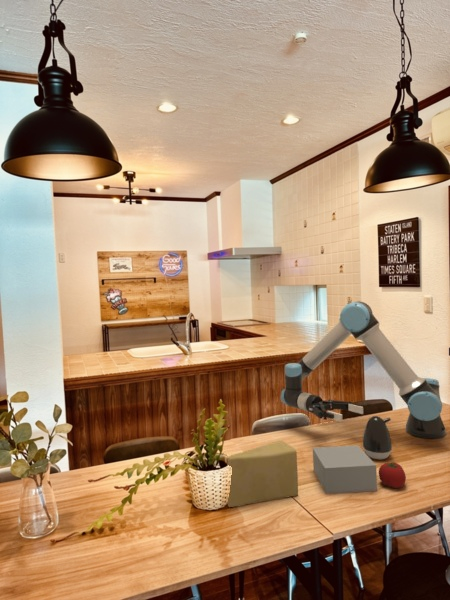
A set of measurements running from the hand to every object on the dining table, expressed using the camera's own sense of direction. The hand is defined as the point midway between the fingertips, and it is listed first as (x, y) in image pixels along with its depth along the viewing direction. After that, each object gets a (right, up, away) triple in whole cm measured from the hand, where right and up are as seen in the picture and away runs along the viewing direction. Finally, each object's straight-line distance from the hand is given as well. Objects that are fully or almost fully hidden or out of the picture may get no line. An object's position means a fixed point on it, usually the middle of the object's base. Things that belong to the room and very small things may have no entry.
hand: (352, 414), depth 154 cm
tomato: (+3, -14, -29) cm, 32 cm away
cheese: (-39, -17, -32) cm, 53 cm away
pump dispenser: (+7, -14, -8) cm, 17 cm away
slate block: (-11, -15, -24) cm, 30 cm away
